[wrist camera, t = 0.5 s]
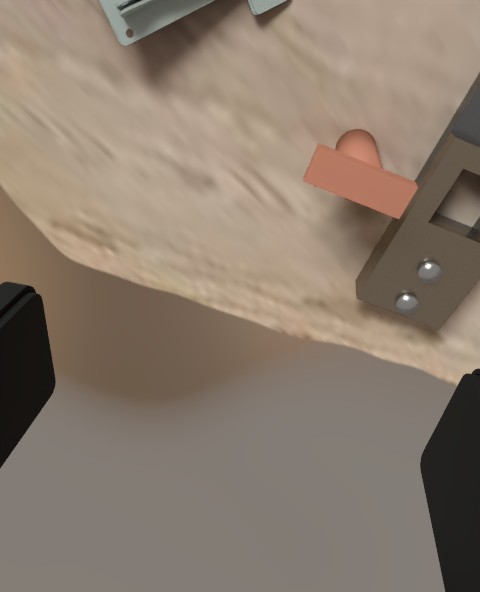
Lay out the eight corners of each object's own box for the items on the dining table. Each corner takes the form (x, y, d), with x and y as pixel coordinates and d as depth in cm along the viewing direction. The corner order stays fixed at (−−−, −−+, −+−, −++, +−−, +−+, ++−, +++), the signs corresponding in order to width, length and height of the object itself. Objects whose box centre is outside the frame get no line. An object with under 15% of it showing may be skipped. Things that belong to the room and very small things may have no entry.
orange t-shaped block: (323, 113, 35) (320, 141, 29) (406, 147, 36) (421, 182, 29) (307, 152, 37) (300, 186, 31) (385, 183, 37) (395, 224, 31)
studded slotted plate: (507, 25, 30) (526, 29, 27) (615, 71, 31) (645, 79, 28) (355, 280, 43) (356, 301, 40) (432, 310, 43) (439, 334, 40)
